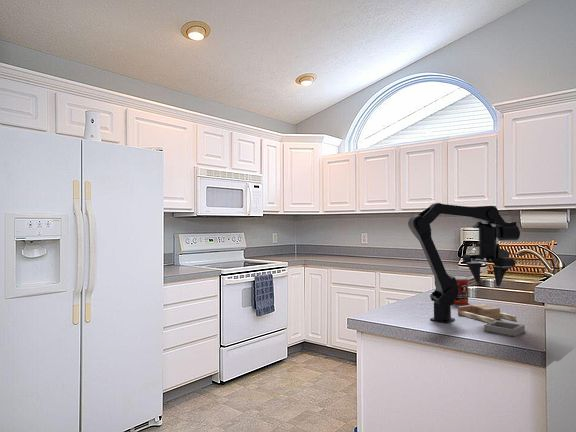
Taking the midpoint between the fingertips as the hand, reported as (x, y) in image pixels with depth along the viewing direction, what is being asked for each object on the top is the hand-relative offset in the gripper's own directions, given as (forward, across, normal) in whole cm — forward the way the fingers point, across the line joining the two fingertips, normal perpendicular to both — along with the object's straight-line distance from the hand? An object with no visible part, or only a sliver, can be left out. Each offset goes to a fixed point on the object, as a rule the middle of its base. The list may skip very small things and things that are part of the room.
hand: (487, 284), depth 148 cm
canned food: (+13, +28, -12) cm, 33 cm away
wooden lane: (+13, +3, -2) cm, 13 cm away
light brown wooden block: (+13, +4, -2) cm, 14 cm away
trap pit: (+13, -14, +8) cm, 20 cm away
